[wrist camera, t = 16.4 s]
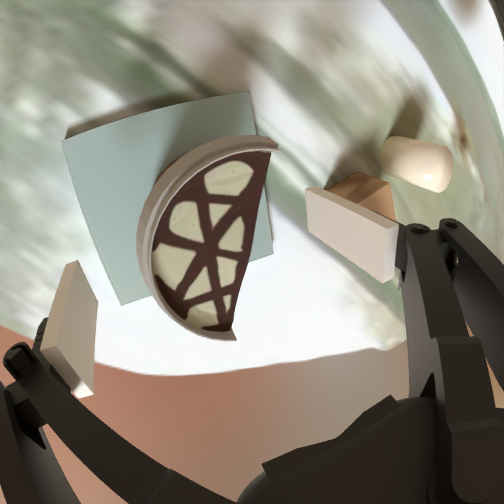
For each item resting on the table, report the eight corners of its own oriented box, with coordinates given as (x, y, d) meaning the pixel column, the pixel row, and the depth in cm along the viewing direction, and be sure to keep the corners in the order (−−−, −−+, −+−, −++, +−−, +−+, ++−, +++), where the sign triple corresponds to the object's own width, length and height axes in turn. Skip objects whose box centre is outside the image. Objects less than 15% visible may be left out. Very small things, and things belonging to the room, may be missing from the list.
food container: (147, 119, 19) (156, 114, 11) (225, 131, 22) (285, 140, 13) (129, 270, 23) (134, 351, 15) (198, 272, 26) (235, 347, 18)
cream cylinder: (406, 134, 30) (453, 144, 24) (407, 172, 32) (451, 188, 27) (379, 137, 29) (429, 147, 23) (380, 179, 31) (427, 196, 25)
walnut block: (356, 171, 29) (389, 182, 25) (365, 210, 32) (396, 225, 28) (320, 192, 29) (352, 206, 25) (332, 231, 32) (362, 250, 27)
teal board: (244, 92, 22) (249, 91, 21) (269, 249, 29) (273, 253, 28) (64, 140, 18) (61, 141, 17) (121, 299, 25) (121, 305, 24)
